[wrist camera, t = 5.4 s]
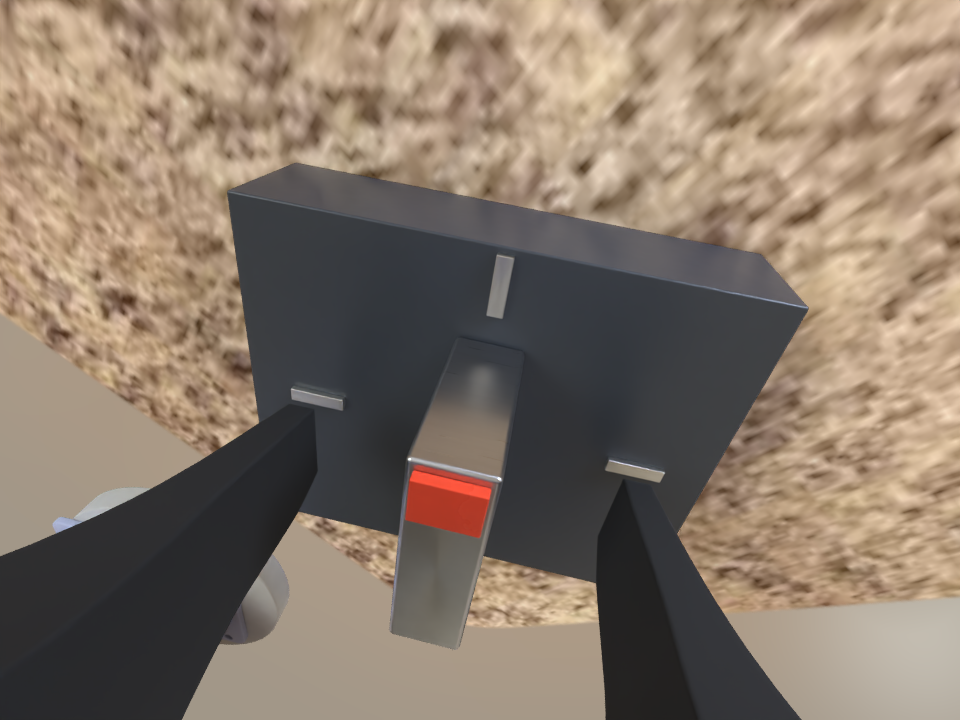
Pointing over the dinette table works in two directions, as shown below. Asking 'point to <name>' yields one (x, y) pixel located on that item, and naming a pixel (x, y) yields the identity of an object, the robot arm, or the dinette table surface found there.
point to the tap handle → (453, 491)
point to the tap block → (506, 323)
